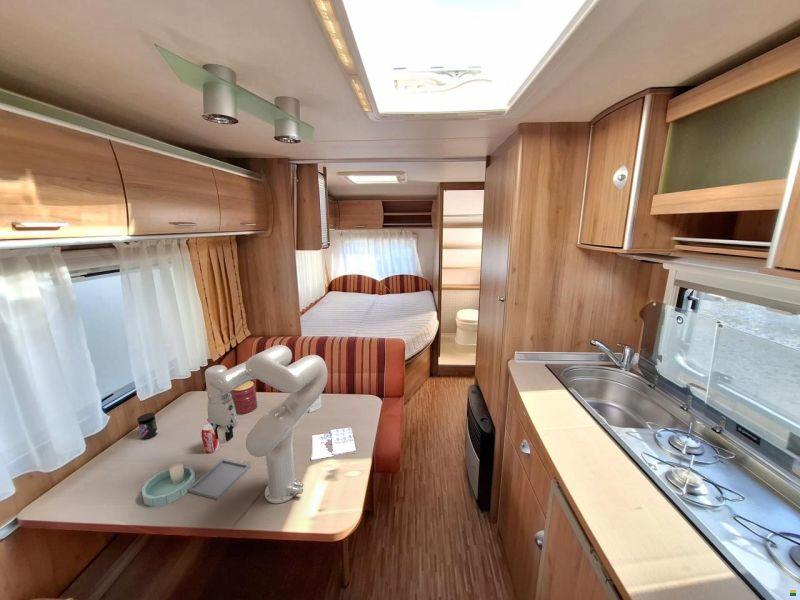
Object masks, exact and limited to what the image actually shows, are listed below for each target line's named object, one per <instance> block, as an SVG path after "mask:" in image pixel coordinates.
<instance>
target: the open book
mask: <svg viewBox="0 0 800 600" xmlns="http://www.w3.org/2000/svg"><path fill="white" fill-rule="evenodd" d="M354 438H355V437H354V434H353V429H352V427H344V428H335V429H330V431H329V432H327V433H322V434H321V433H320V434H313V435H311V455H310V459H311V462H313V460H314V461H317V459H319V460H322V459H321V458H324V459H327V458H326V457H331V458H333V457H332V456H334V455H338V454H343V453H347V452H353V451H355V452H356V451H357V450H356V445H355V439H354ZM331 439H332V442H331V446H332V449H333V451H332V453H331V452H329V451H328V450H327V449H328V448H326V445H325V444H326V442H328V441H329V440H331Z"/></svg>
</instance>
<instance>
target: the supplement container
mask: <svg viewBox="0 0 800 600" xmlns="http://www.w3.org/2000/svg"><path fill="white" fill-rule="evenodd" d="M136 420H137V426H138V432H139V437H140V439H141V440H143V441H145V440H151V439H153V438H154V437H156V436H157V435H158V433H159V432H158V426H157V420H156V414H155V412H148V413H144V414H142V415H140V416H138V417H137V418H136Z"/></svg>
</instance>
